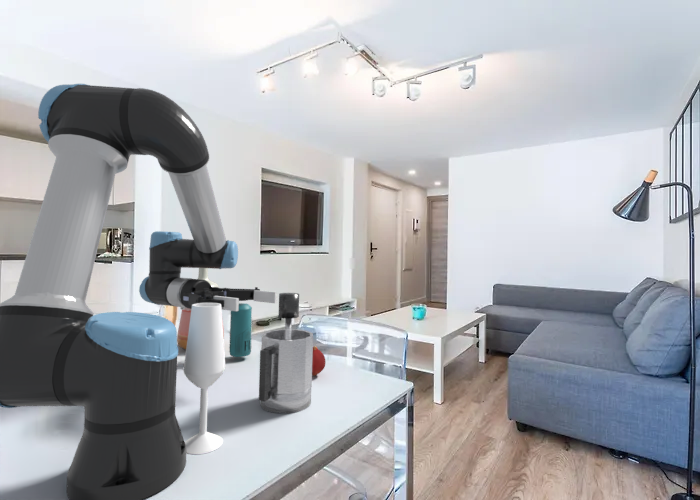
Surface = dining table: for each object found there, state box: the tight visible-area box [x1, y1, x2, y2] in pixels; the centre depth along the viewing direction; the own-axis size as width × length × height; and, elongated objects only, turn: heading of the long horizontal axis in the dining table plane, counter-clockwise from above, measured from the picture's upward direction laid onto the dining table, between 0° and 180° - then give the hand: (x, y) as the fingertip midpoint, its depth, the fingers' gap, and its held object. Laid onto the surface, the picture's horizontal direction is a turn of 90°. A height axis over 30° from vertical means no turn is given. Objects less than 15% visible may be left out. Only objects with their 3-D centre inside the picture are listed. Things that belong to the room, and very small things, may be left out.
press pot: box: [258, 328, 314, 414], centre depth 80 cm, size 14×11×15 cm
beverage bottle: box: [228, 300, 253, 358], centre depth 112 cm, size 6×7×20 cm
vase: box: [177, 268, 225, 351], centre depth 123 cm, size 14×14×30 cm
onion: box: [312, 345, 326, 377], centre depth 99 cm, size 6×6×8 cm
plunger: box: [277, 292, 300, 340], centre depth 82 cm, size 8×8×19 cm
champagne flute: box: [183, 303, 226, 455], centre depth 64 cm, size 7×7×24 cm
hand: (258, 301), depth 85 cm, fingers open, 13 cm apart
